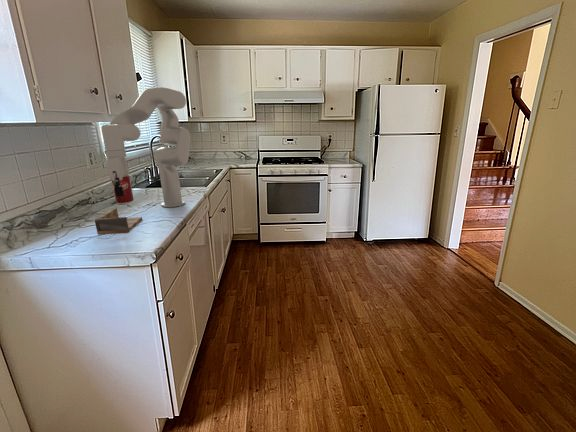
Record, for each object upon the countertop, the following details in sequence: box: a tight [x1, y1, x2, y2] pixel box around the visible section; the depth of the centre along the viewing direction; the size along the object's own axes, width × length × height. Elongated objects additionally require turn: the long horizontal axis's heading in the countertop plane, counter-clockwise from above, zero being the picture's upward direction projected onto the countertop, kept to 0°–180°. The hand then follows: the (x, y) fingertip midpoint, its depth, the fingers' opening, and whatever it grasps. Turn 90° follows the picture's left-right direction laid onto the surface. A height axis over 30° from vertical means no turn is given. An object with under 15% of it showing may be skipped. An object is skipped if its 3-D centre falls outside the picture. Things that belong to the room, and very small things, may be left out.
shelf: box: [94, 207, 143, 236], centre depth 136 cm, size 18×12×6 cm, turn 6°
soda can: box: [111, 174, 134, 205], centre depth 137 cm, size 7×7×12 cm
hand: (123, 193), depth 137 cm, fingers closed on soda can, 7 cm apart
